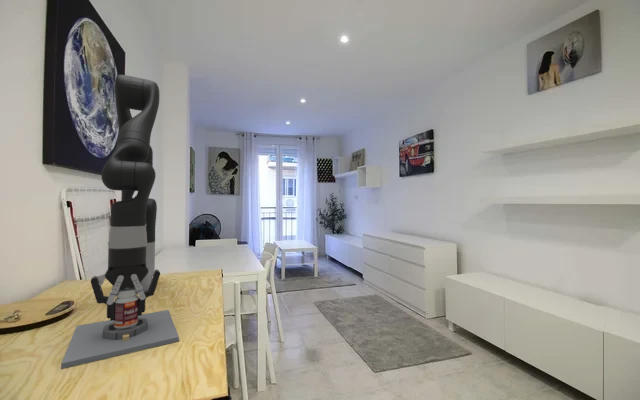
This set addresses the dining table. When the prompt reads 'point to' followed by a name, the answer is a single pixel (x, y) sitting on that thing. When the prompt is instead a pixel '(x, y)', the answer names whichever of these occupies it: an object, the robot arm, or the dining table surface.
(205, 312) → the dining table surface
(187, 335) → the dining table surface
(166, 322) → the socket
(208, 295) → the dining table surface
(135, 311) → the pill bottle
